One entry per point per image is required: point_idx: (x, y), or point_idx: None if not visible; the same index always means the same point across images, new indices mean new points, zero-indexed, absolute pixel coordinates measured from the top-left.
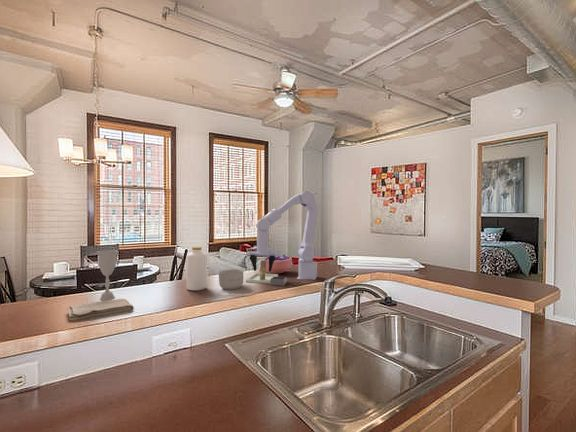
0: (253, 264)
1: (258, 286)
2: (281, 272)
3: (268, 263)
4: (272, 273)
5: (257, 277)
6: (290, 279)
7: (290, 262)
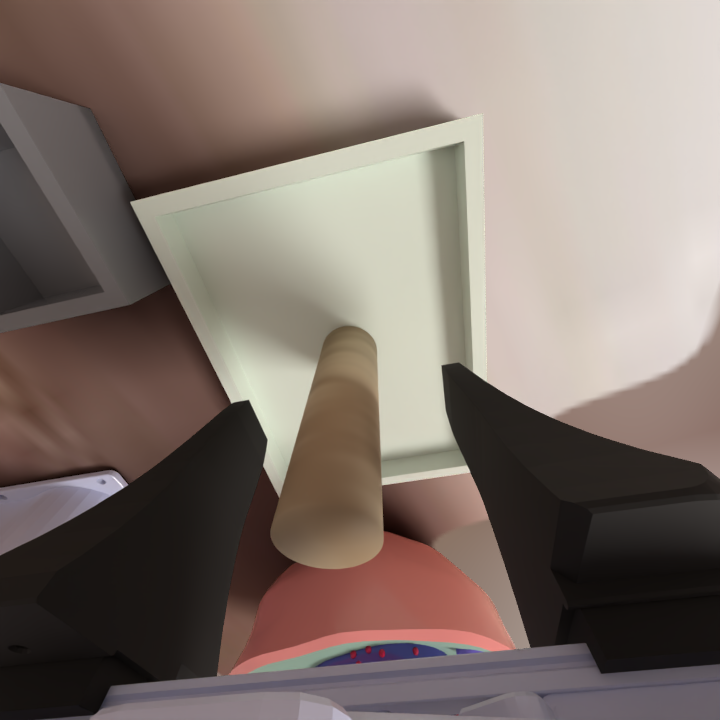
0: (497, 406)
1: (211, 14)
2: None
3: (386, 602)
4: None
5: (430, 393)
6: None
7: None
